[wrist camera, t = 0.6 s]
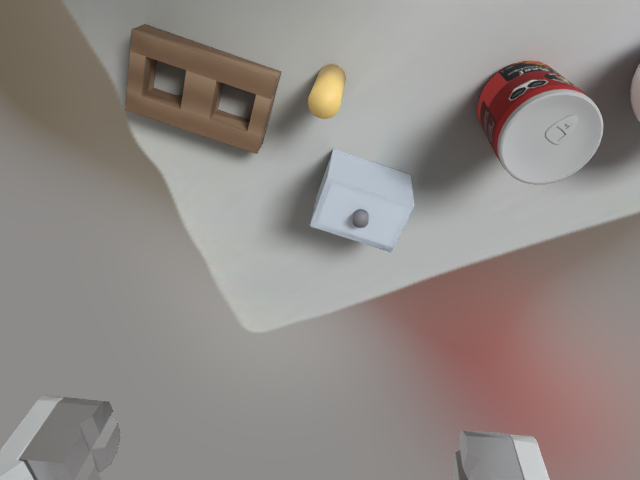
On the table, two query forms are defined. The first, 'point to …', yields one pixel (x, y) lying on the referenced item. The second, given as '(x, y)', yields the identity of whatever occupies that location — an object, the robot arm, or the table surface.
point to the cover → (363, 201)
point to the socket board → (198, 88)
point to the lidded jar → (636, 93)
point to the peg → (327, 92)
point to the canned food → (538, 123)
